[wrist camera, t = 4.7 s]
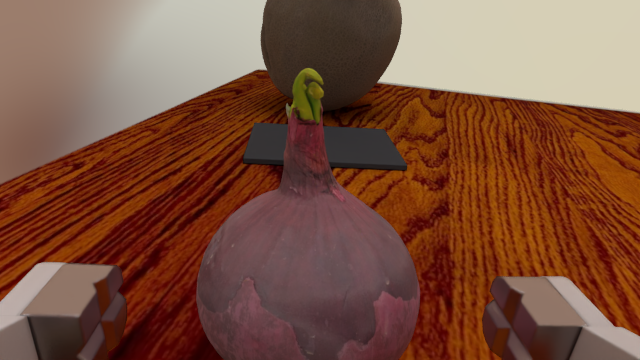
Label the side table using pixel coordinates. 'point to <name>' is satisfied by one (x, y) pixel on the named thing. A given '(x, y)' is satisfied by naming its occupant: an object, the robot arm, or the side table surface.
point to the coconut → (330, 44)
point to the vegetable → (307, 263)
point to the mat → (328, 147)
